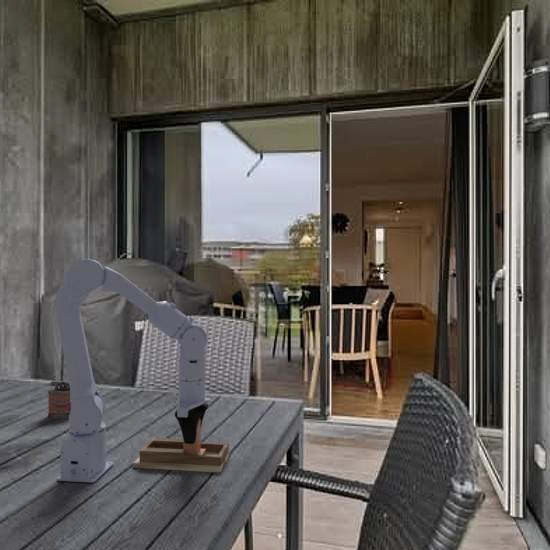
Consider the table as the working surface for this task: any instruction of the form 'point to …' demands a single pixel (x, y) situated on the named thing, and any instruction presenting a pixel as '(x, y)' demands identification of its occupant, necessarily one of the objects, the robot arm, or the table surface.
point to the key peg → (195, 448)
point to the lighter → (59, 400)
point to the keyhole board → (181, 456)
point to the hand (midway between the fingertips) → (191, 440)
